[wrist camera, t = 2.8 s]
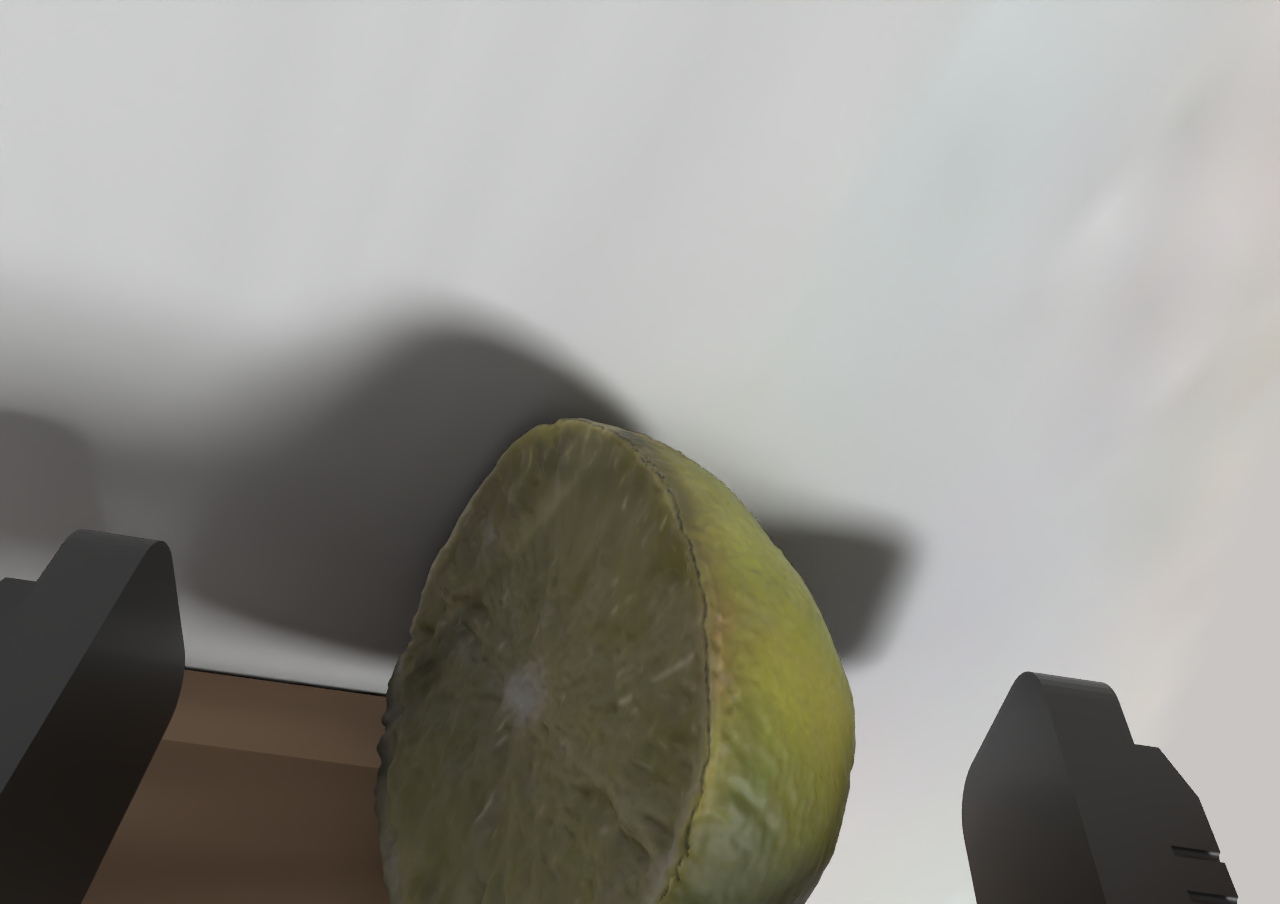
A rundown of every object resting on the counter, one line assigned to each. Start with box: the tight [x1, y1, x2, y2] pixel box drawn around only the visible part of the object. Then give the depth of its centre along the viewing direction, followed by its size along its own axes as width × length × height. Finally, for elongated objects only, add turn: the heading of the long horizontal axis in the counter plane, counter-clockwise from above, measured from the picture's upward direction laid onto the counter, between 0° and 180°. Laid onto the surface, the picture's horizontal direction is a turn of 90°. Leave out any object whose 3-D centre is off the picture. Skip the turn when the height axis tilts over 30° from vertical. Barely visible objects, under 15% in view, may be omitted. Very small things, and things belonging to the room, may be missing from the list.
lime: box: [374, 418, 856, 904], centre depth 10 cm, size 4×5×5 cm
